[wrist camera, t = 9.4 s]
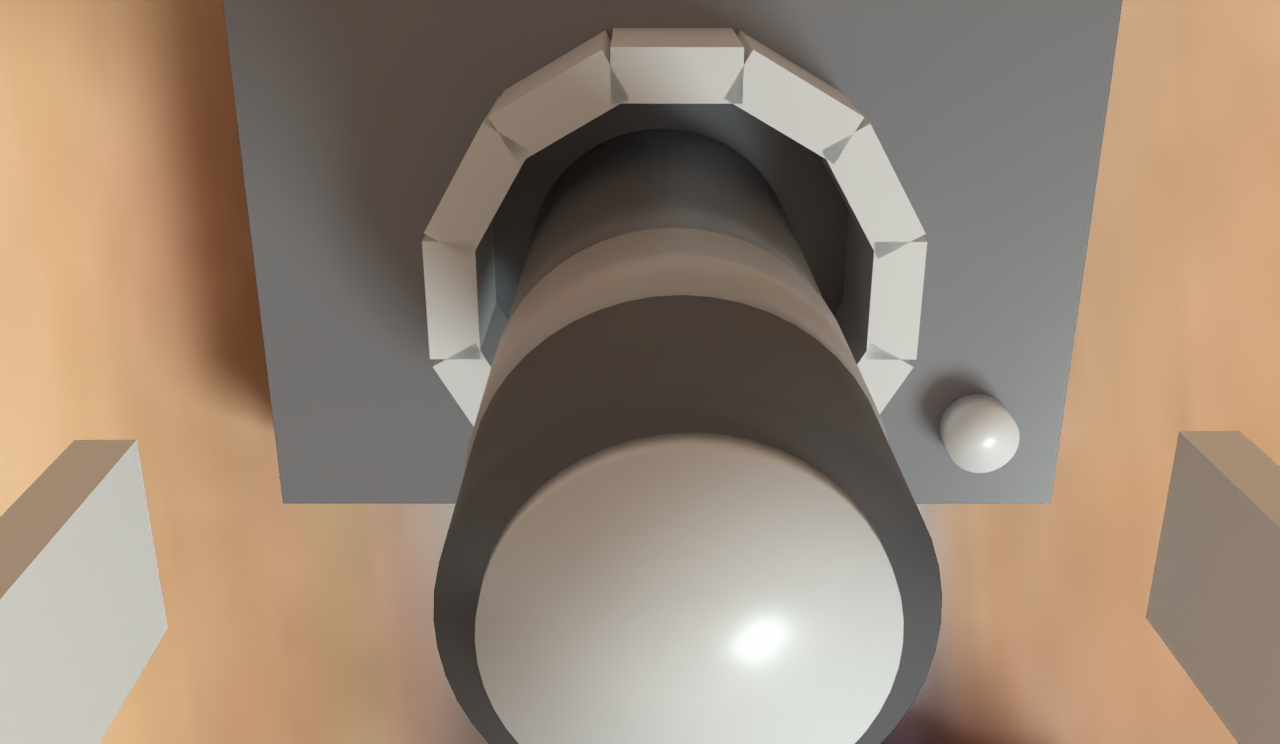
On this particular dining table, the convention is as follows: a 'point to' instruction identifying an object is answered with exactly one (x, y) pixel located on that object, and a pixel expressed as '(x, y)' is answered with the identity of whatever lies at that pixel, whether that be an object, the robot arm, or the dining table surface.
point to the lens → (680, 482)
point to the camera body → (684, 100)
